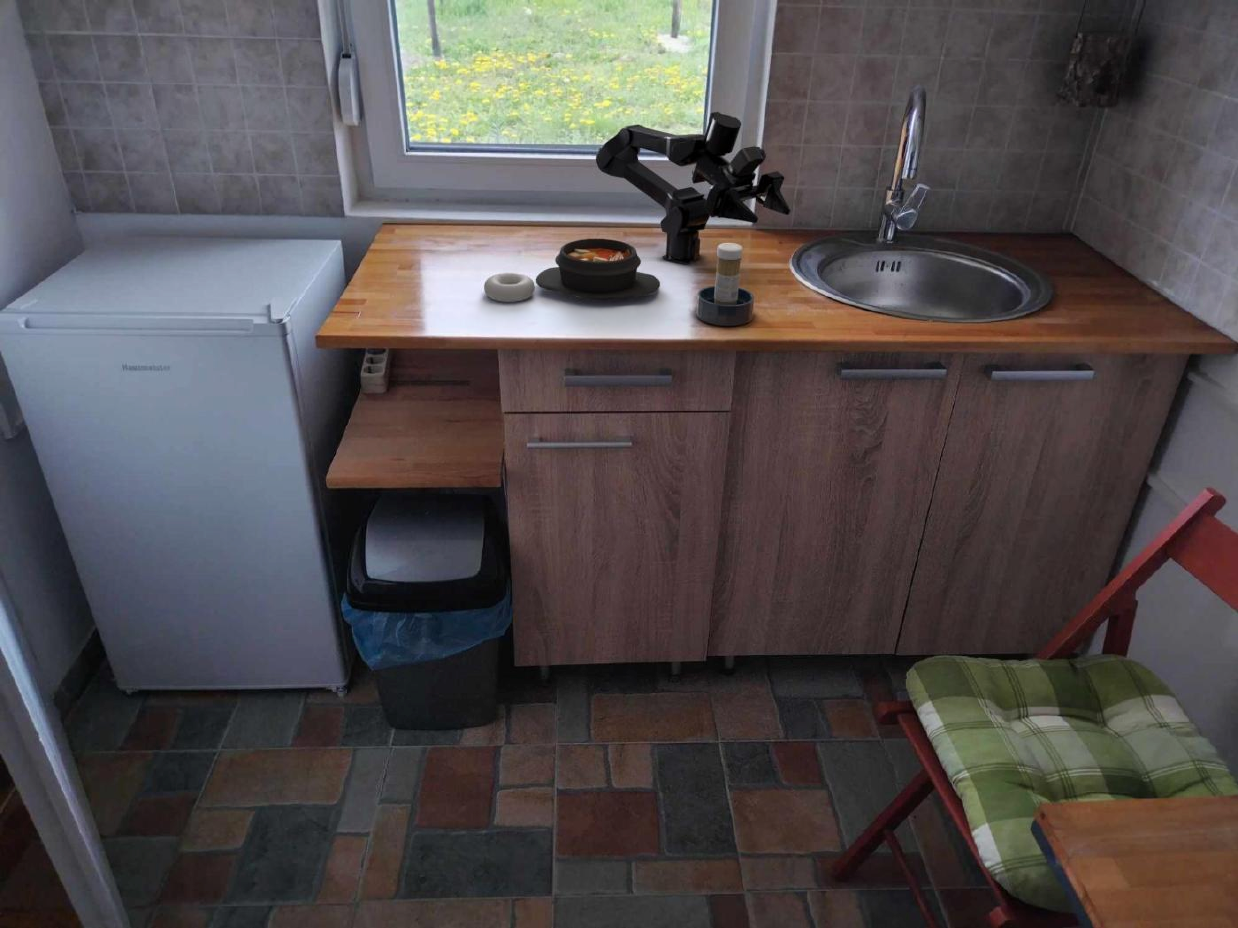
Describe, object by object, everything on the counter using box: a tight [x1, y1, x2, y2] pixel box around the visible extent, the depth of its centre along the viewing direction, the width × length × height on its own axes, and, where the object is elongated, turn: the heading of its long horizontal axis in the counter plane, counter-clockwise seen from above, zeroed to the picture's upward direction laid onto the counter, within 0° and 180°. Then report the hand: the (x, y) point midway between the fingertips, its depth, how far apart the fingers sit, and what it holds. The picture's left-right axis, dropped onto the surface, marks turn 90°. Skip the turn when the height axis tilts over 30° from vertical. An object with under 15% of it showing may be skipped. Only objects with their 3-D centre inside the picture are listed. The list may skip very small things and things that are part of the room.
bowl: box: [695, 285, 755, 327], centre depth 173 cm, size 11×11×4 cm
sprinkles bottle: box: [714, 242, 744, 305], centre depth 171 cm, size 5×5×14 cm
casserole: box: [535, 238, 661, 301], centre depth 182 cm, size 25×19×8 cm
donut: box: [483, 272, 536, 303], centre depth 180 cm, size 10×4×10 cm
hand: (773, 216), depth 178 cm, fingers open, 9 cm apart
